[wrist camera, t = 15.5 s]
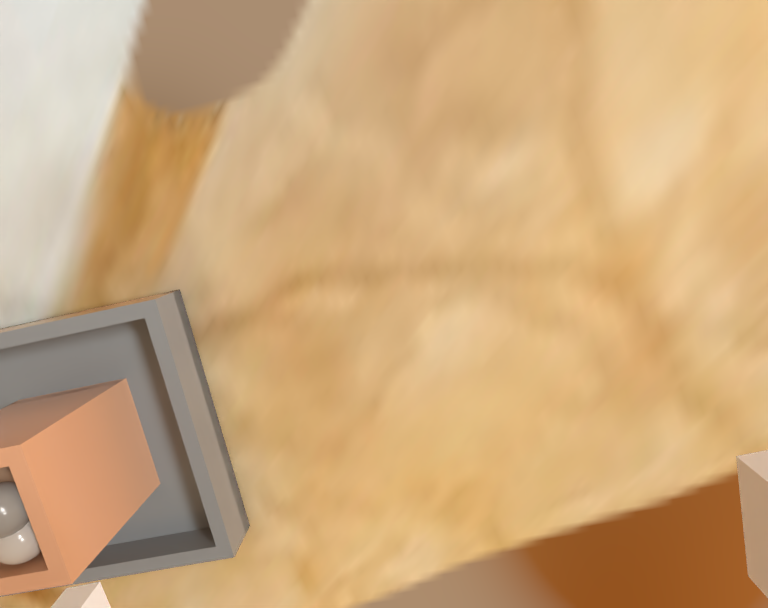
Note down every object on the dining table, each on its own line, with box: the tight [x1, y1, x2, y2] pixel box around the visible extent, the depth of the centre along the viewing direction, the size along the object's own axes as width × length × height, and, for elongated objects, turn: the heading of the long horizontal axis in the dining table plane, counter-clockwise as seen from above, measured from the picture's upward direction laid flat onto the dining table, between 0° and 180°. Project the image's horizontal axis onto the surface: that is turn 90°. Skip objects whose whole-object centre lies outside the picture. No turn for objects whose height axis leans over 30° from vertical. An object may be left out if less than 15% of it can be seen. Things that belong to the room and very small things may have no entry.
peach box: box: [0, 378, 160, 596], centre depth 32 cm, size 8×8×11 cm
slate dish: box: [0, 290, 250, 597], centre depth 37 cm, size 18×18×4 cm
